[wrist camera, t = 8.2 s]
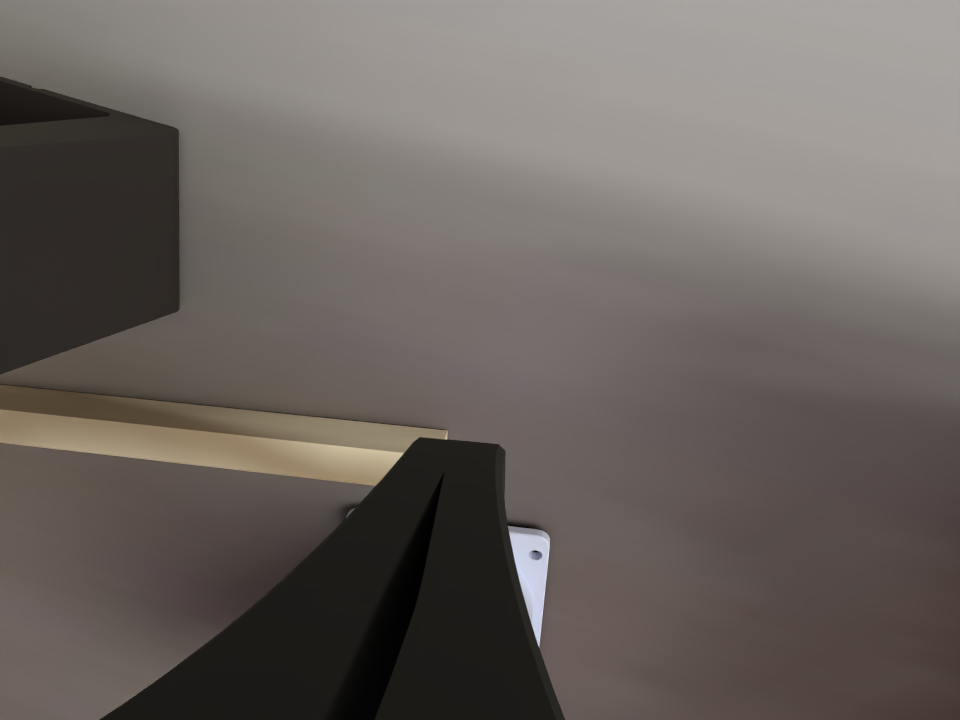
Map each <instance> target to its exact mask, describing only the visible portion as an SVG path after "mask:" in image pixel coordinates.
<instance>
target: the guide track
mask: <svg viewBox="0 0 960 720" xmlns="http://www.w3.org/2000/svg"><path fill="white" fill-rule="evenodd" d="M419 437H425V438H436V439H447V430H437V429H427V428H417V427H408V426H398V425H388V424H379V423H369V422H359V421H349V420H340V419H330V418H320V417H311V416H301V415H291V414H281V413H272V412H262V411H252V410H243V409H233V408H223V407H213V406H204V405H194V404H184V403H175V402H165V401H155V400H145V399H136V398H126V397H116V396H107V395H97V394H87V393H77V392H68V391H58V390H48V389H39V388H29V387H19V386H9V385H0V443H8V444H17V445H26V446H34V447H43V448H52V449H61V450H69V451H78V452H87V453H95V454H104V455H113V456H121V457H130V458H139V459H148V460H156V461H165V462H174V463H182V464H191V465H200V466H209V467H217V468H226V469H235V470H243V471H252V472H261V473H269V474H278V475H287V476H296V477H304V478H313V479H322V480H330V481H339V482H348V483H357V484H365V485H374V486H376V485H377V484H378V483H379V482H380V481H381V480H382V478H383V477H384V476H385V475H386V474H387V473H388V471H389V470H390V469H391V468H392V467H393V466H394V464H395V463H396V462H397V461H398V460H399V459H400V457H401V456H402V455H403V454H404V453H405V451H406V450H407V449H408V448H409V446H410V445H411V444H412V443H413V442H414V441H415V440H417V439H418V438H419Z"/></svg>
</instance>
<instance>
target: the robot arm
mask: <svg viewBox="0 0 960 720" xmlns="http://www.w3.org/2000/svg"><path fill="white" fill-rule="evenodd" d="M505 452H506V451H505V450H504V449H503V448H502V447H501V446H500V445H499V444H490V443H479V442H469V441H458V440H447V439H436V438H425V437H419V438H418V439H417V440H415V441H414V442H413V443H412V444H411V445H410V446H409V448H408V449H407V450H406V451H405V453H404V454H403V455H402V456H401V457H400V459H399V460H398V461H397V462H396V463H395V464H394V466H393V467H392V468H391V469H390V470H389V471H388V473H387V474H386V475H385V476H384V477H383V478H382V480H381V481H380V482H379V483H378V484H377V485H376V486H375V487H374V488H373V490H372V491H371V492H370V493H369V494H368V495H367V496H366V497H365V498H364V500H363V501H362V502H361V503H360V504H359V505H358V506H357V507H356V508H354V509H352V510H350V511H349V512H348V514H347V517H346V519H345V520H344V521H343V522H342V523H341V524H340V525H339V526H338V527H337V528H336V529H335V530H334V531H333V532H332V533H331V534H330V535H329V536H328V537H327V538H326V539H325V540H324V541H323V542H322V543H321V544H320V545H319V546H318V547H317V548H316V549H315V550H314V551H313V552H312V553H310V554H309V555H308V556H307V557H306V558H305V559H304V560H303V561H302V562H301V563H300V564H299V565H298V566H297V567H296V568H295V569H294V570H293V571H292V572H291V573H289V574H288V575H287V576H286V577H285V578H284V579H283V580H282V581H281V582H280V583H279V584H277V585H276V586H275V587H274V588H273V589H272V590H271V591H269V592H268V593H267V594H266V595H265V596H264V597H263V598H262V599H260V600H259V601H258V602H257V603H256V604H254V605H253V606H252V607H251V608H250V609H249V610H247V611H246V612H245V613H244V614H242V615H241V616H240V617H239V618H238V619H236V620H235V621H234V622H233V623H231V624H230V625H229V626H228V627H227V628H225V629H224V630H223V631H222V632H220V633H219V634H218V635H217V636H215V637H214V638H213V639H212V640H210V641H209V642H208V643H206V644H205V645H204V646H202V647H201V648H200V649H198V650H197V651H196V652H194V653H193V654H192V655H190V656H189V657H188V658H186V659H185V660H184V661H182V662H181V663H180V664H178V665H177V666H176V667H174V668H173V669H172V670H170V671H169V672H168V673H166V674H165V675H164V676H162V677H161V678H160V679H158V680H157V681H155V682H154V683H153V684H151V685H150V686H148V687H147V688H146V689H144V690H143V691H141V692H140V693H138V694H137V695H136V696H134V697H133V698H131V699H130V700H128V701H127V702H125V703H124V704H123V705H121V706H119V707H118V708H116V709H115V710H113V711H112V712H110V713H109V714H107V715H106V716H104V717H103V718H101V719H100V720H565V718H564V716H563V713H562V711H561V708H560V705H559V703H558V700H557V697H556V695H555V692H554V689H553V687H552V684H551V681H550V678H549V675H548V672H547V669H546V667H545V664H544V661H543V658H542V655H541V652H540V649H539V644H540V634H541V625H542V615H543V606H544V596H545V586H546V577H547V567H548V557H549V548H550V538H549V536H548V534H547V533H545V532H544V531H541V530H538V529H529V528H521V527H512V526H508V524H507V517H506V511H505V502H504V492H505ZM533 550H537V551H540V552H533Z"/></svg>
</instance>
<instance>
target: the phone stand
mask: <svg viewBox="0 0 960 720" xmlns="http://www.w3.org/2000/svg"><path fill="white" fill-rule="evenodd" d="M178 310H179V131H178V129H176V128H174V127H171V126H167V125H164V124H160V123H157V122H153V121H150V120H147V119H143V118H140V117H136V116H133V115H130V114H126V113H123V112H119V111H116V110H113V109H109V108H106V107H102V106H99V105H95V104H92V103H89V102H85V101H82V100H78V99H75V98H72V97H68V96H65V95H61V94H58V93H54V92H51V91H48V90H44V89H34V88H31V85H27V84H24V83H20V82H17V81H13V80H10V79H7V78H3V77H0V374H2V373H5V372H8V371H11V370H14V369H17V368H19V367H22V366H25V365H28V364H31V363H34V362H36V361H39V360H42V359H45V358H48V357H50V356H53V355H56V354H59V353H62V352H65V351H67V350H70V349H73V348H76V347H79V346H81V345H84V344H87V343H90V342H93V341H96V340H98V339H101V338H104V337H107V336H110V335H112V334H115V333H118V332H121V331H124V330H127V329H129V328H132V327H135V326H138V325H141V324H143V323H146V322H149V321H152V320H155V319H158V318H160V317H163V316H166V315H169V314H172V313H175V312H177V311H178Z"/></svg>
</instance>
